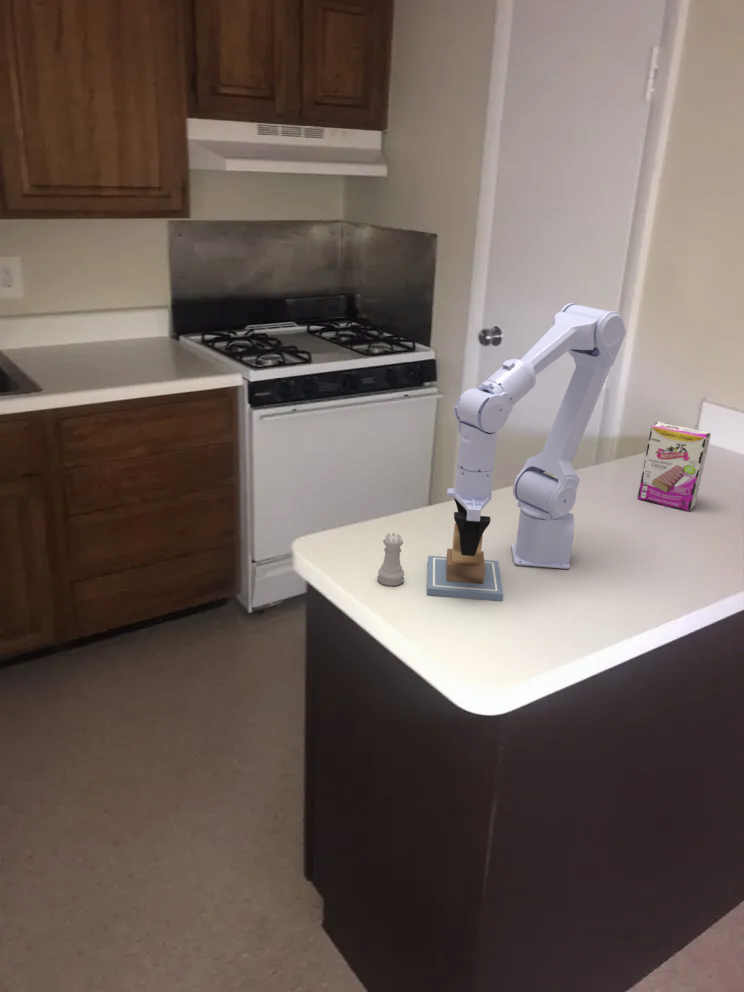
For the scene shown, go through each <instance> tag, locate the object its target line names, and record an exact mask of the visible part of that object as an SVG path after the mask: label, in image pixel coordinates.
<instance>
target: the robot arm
mask: <svg viewBox="0 0 744 992" xmlns="http://www.w3.org/2000/svg"><path fill="white" fill-rule="evenodd" d="M626 334H627V331H626V328H625V323H624V319H623V316H622V314H620V313H619V312H618V311H615V310H605V309H599V308H595V307H591V306H586V305H582V304H581V305H580V304H579V303H575V302H569V303H567V304H565V305H564V306H563V307H562V309H560V311H559V312H557V313H556V314H554V316H553V320H552V325H551V327H550V328H549V329H548V330H547V331H546V332H545V333H544V334H543V336H541V338H540V339H538V341H537V342H536V343H535V344H533V346H532V347H531V348H530V349H529V350H528V351H527V352H526V354H525V355H523V356H522V357H521V359H519V358H510V359H509V360H508V359H507V360H505V361H504V362H503V363H501V367H499V369H497V370H496V371H495V372H493V374H492V375H490V376H489V377H488V378H487V379H486V380H484V381H483V382H482V383H481V384H480V385H479V386H478V387H477V388H476V387H473V388H469V389H467V390H466V391H464V392H462V393H461V394H460V395H459V397H458V399H456V404H455V406H453V409H452V411H453V416H454V418H455V421H456V422H457V432H458V435H459V437H458V438H459V439H458V449H457V459H456V460H457V461H456V471H455V472H456V473H455V480H454V481H455V482H454V487H449V488H447V489H446V495H447V497H451V498H452V497H453V500H454V502H455V504H456V508H457V511H454V512H453V518H454V522H455V524H457V527H458V530H459V535H460V548H461V554H462V555H466V556H475V554H476V551H477V548H478V545H479V542H480V539H481V537H482V535H483V534H484V533H485V531H486V529H487V528H488V527H489V525H490V523H491V522H492V521H491V516H487V515H482V514H481V512H482V510H483V509H484V508H485V507H486V506H487V504H488V503H490V501H491V500H492V497H493V496H492V494H493V493H492V484H493V475H494V465H495V458H496V457H495V456H496V447H497V437H498V431H499V430H500V429H502V428H503V427H504V426H505V425H506V422H507V420H508V417H509V414H510V413H511V412H512V411H513V409H514V406H515V405H516V404H517V403H518V402H519V401H520V400H521V399H522V398H524V397H525V396H526V395H527V394H528V393H529V392H530V391H531V390H532V389H533V388H535V385H536V382H537V381H536V380H537V379H536V377H537V375H538V374H539V373H541V372H542V371H544V370H545V369H546V368H547V367H549V366H550V365H551V364H553V363H554V362H556V360H558V359H560V357H562V356H563V355H564V354H565V353H568V354H569V355H570V356H571V357H572V359H573V361H574V365H575V369H574V371H573V373H572V375H571V378H570V381H569V384H568V385H567V386H568V387H567V388H566V391H565V393H564V395H563V398H562V401H561V404H560V406H559V408H558V412H557V413H556V416H555V419H554V421H553V424H552V426H551V428H550V431H549V433H548V436H547V439H546V441H545V443H544V445H543V449H542V450H541V452H540V453H538V454H535V455H533V456H531V457H528V459H526V461H525V462H524V466H523V468H522V469H521V471H520V472H519V473H518V474H517V475H516V477H515V478H514V482H513V487H512V495H513V496H514V498H515V500H517V507H518V508H520V509H519V510H520V512H519V519H518V525H517V535H516V542H515V543H511V545H510V547H511V551H512V554H511V555H512V557H513V562H514V565H516V566H526V567H539V568H551V569H552V568H553V569H562V570H563V569H564V570H566V569H567V570H568V569H570V567H571V565H570V561H571V555H572V550H573V549H572V548H573V542H574V537H575V536H574V534H575V517H574V516H575V515H574V514H573V513H572V512H570V511H571V510H573V507H574V505H575V503H576V499H577V490H578V486H579V483H580V482H581V479H580V477H579V475H578V473H577V472H576V470H575V468H574V466H573V460H574V458H575V456H576V454H577V451H578V448H579V446H580V444H581V441H582V438H583V436H584V433H585V432H586V429H587V426H588V424H589V421H590V419H591V417H592V414H593V412H594V409H595V407H596V404H597V402H598V400H599V396H600V395H601V392H602V389H603V388H604V385H605V382H606V379H607V377H608V375H609V373H610V370H611V367H612V366H614V363H615V361H616V359H617V356H618V353H619V351H620V349H621V346H622V344H623V341H624V339H625V337H626ZM545 472H547V473H549V474H546V473H545ZM550 474H551V475H550ZM552 475H554V476H556V477H554V476H552Z"/></svg>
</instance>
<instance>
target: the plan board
mask: <svg viewBox="0 0 744 992" xmlns="http://www.w3.org/2000/svg"><path fill="white" fill-rule="evenodd" d="M484 554H485V553H484V551H483V550H481V557H480V565H476V564H463V563H452V548H447V549H446V556H437V555H427V575H426V576H427V579H426V580H427V581H426V596H433V597H435V596H436V597H444V598H445V597H448V598H457V599H458V598H460V599H473V600H485V601H497V602H498V601H499V602H503V598H504V589H503V585H502V578H501V570H500V564H499V560H490V559H485V555H484Z"/></svg>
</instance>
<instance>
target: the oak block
mask: <svg viewBox="0 0 744 992" xmlns="http://www.w3.org/2000/svg"><path fill="white" fill-rule="evenodd" d="M452 537H453V538H452V546H451V547H452V548H451V549H452V563H463V564H476V565H480V557H481V551H482V547H483V546H482V545H483V538H484V537H483V534H482V537H481V539H480V542H479V545H478V548H477V551H476V554H475V556H466V555H462V554H461V548H460V535H459V530H458V527H457V524H456V523H454V525H453V535H452Z"/></svg>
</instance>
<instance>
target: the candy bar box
mask: <svg viewBox="0 0 744 992" xmlns="http://www.w3.org/2000/svg"><path fill="white" fill-rule="evenodd" d="M711 435H712V432H710V431H705V430H700V429H695V428H691V427H690V428H689V427H686V426H681V425H676V424H671V423H666V422H663V421H662V422H661V421H656V422H655V423H653V424H652V426H651V427H650V431H649V437H648V441H647V446H646V447H647V448H646V452H645V453H646V454H645V457H644V463H643V468H642V473H641V478H640V484H639V488H638V494H637V500H641V499H642V500H641V501H645V500H646V502H649V501H650V502H649V503H653V502H654V503H653V504H656V503H658V505H661V504H662V506H665V505H666V507H670V508H674V509H677V508H678V509H677V510H681V509H682V511H685V510H686V511H685V512H689V511H690V510H691V511H692V509H693V508H694V507H695V506H696V503H697V499H698V493H699V488H700V485H701V480H702V475H703V472H704V471H703V470H704V468H705V461H706V458H707V457H706V456H707V453H708V449H709V444H710V440H711ZM691 511H690V512H691Z"/></svg>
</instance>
